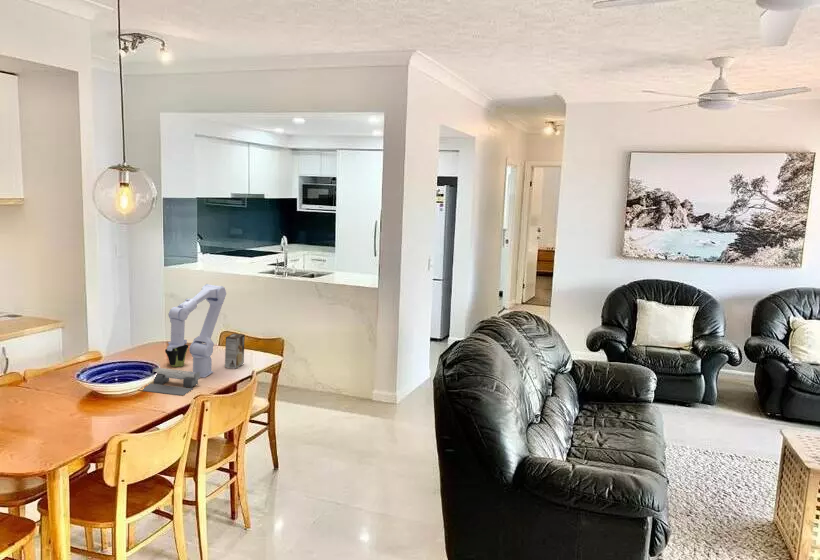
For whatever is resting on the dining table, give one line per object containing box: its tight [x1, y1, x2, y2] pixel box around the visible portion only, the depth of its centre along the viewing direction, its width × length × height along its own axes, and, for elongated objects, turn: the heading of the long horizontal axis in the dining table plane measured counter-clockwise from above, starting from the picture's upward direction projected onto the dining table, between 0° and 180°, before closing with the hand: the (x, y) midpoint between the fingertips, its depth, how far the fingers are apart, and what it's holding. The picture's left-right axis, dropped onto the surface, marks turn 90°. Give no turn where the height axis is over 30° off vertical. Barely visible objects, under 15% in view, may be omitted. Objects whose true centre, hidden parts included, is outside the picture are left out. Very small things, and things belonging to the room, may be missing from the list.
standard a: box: [182, 378, 199, 389], centre depth 275 cm, size 6×4×4 cm, turn 173°
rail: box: [152, 366, 201, 381], centre depth 275 cm, size 4×21×3 cm, turn 83°
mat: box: [142, 383, 194, 396], centre depth 267 cm, size 9×21×1 cm, turn 83°
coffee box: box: [224, 333, 246, 369], centre depth 308 cm, size 9×6×16 cm
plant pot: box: [170, 347, 189, 368], centre depth 302 cm, size 9×9×9 cm
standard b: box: [153, 375, 170, 385], centre depth 276 cm, size 6×4×4 cm, turn 173°
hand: (176, 362), depth 274 cm, fingers open, 7 cm apart
